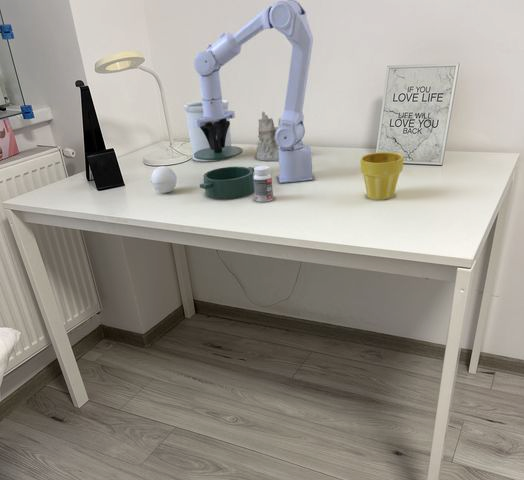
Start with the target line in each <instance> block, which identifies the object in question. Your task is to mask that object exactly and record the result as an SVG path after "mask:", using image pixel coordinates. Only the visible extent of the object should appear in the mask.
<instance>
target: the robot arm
mask: <svg viewBox="0 0 524 480" xmlns="http://www.w3.org/2000/svg"><path fill="white" fill-rule="evenodd" d="M310 27H311V26H310V24H309V21H308V18H307V11H306V10H305V9H304V7H303V6H302V5H301V3H300V2H299V1H297V0H278V1H276V2H274V3H273V4H272V5H270V6H268V7H266V8H265V9H263V10H261V11H260V12H259V13H257V15H255V16H254V17H253V18H252V19H251V20H249V21H248V22H247V23H246V24H244V25H243V27H241V28H239V30H237V31H236V32H235V33H232V32H226V33H225V32H222V33H221V34H220V35H218V37H219V38H218V39H217V40H216V41H215V42H214V43H213V44H208V45H207V46H206V50H201V51H198V53H197V54H196V55H195V57H194V59H193V67H194V70H195V71H196V73H197V74H198V79H199V87H200V89H199V90H200V95H201V101H202V104H203V111H204V115H203V116H202V117H200V118H197V119H194V120H193V126H194V127H197V128H198V127H200V129H201V130H202V131H203V133H204V134H205V136H206V138H207V140H208V143H209V146H210V148H211V150H217V140H216V136H217V138H221V143H222V148H224V147H225V140H226V134H227V131H228V128H229V126H230V127H231V122H230V119H235V118H236V114H235V110H228V111H226V112H223V103H222V100H223V96H222V87H221V77H220V70H221V68H222V67H223V66H224V65H226V64H227V63H229V62H230V61H231V60H234V58H235V57H237V56H238V55H240V54H241V50H242V46H243V45H244V44H246V43H247V42H248V41H250V40H251V39H253V38H254V37H256V36H257V35H259V34H260V33H262V32H263V31H264V30H271V29H274V30H276V31H277V32H278V33H280V34H282V35H284V37H285V38H286V39H287V40H288V42H289V43H290V44H291V47H292V48H291V55H290V62H289V71H288V78H287V85H286V93H285V98H284V99H285V101H284V107H283V112H282V115H281V117H280V118H281V120H280V126H279V125H278V127H279V128H278V129H277V131H276V133H275V140H276V143H277V144H278V151H279V161H278V165H279V173H278V174H277V178H278V182H279V183H280V184H285V183H295V182H305V181H306V182H307V181H313V180H314V179H313V178H314V177H313V155H312V148H311V145H304V142H303V138H305V137H304V136H305V134H306V129H305V128H306V127H305V125H304V120H305V119H304V118H305V116H304V115H305V114H304V112H303V110H304V104H305V103H304V102H305V97H306V92H307V91H306V90H307V84H308V77H309V70H310V65H311V64H310V62H311V57H312V51H313V44H314V37H313V33H312V29H311V28H310ZM226 119H229V121H227V120H226ZM213 120H214V121H213ZM212 123H213V124H212Z"/></svg>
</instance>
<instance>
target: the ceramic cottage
mask: <svg viewBox="0 0 524 480" xmlns="http://www.w3.org/2000/svg"><path fill="white" fill-rule="evenodd" d="M280 120H281V117H279V118H278V123H277V124H278V126H275V123H274V119H273V118H272V117H271V118H269V116H268V115H267V114H266V112H265V111H261V119H260V118H259V119H258V136H257V137H258V142H257V146H256V147H257V148H256V156H255V157H256V159H257V160H259V161H265V162H266V161H270V162H271V161H275V162H277V161H278V162H279V151H278V144H277V143H276V140H275V133H276V131H277V129H278V128H279V126H280Z"/></svg>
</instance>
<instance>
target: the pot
mask: <svg viewBox="0 0 524 480" xmlns="http://www.w3.org/2000/svg"><path fill="white" fill-rule="evenodd" d="M254 168H255V167H251V166H249V167H246V166H226V167H218V168H215V169H212V170H209V171H207V172H204V174H203V175H202V176H203V183H199V188H200V189H203V190H204V191H205V196H206V197H207V198H208V199H212V200H219V201H220V200H221V201H226V200H236V199H241V198H245V197H248V196H250V195H252V194H253V193H255V188H254V175H255V173H254Z"/></svg>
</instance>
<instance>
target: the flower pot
mask: <svg viewBox="0 0 524 480" xmlns="http://www.w3.org/2000/svg"><path fill="white" fill-rule="evenodd" d="M359 163H360V165H359V167H360V168H359V169H360V173H361V174H362V176H363V181H364V185H365V191H366V196H367V198H368V199H370V200H373V201H384V200H389V199H392V198H393V197H394V195H395V192H396V189H397V185H398V181H399V178H400V177H399V176H400V174H401V173H402V171H403V167H404V156H403V154H400V153H398V152H393V151H380V152H379V151H378V152H372V153H368V154H365V155H363V156H361V158H360V161H359Z"/></svg>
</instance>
